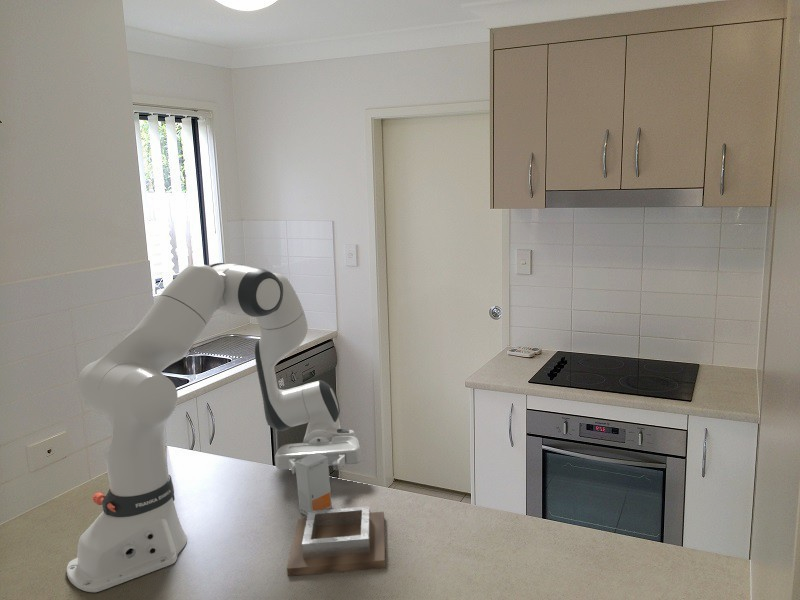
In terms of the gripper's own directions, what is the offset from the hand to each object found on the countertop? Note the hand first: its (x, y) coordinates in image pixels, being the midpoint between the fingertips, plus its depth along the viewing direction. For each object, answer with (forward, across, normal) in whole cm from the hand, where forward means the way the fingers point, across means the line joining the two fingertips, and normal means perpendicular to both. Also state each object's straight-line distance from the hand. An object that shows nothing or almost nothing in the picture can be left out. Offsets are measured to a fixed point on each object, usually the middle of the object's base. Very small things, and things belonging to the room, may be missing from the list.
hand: (315, 468), depth 154 cm
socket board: (+22, +6, +6) cm, 24 cm away
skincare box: (+7, 0, +7) cm, 10 cm away
